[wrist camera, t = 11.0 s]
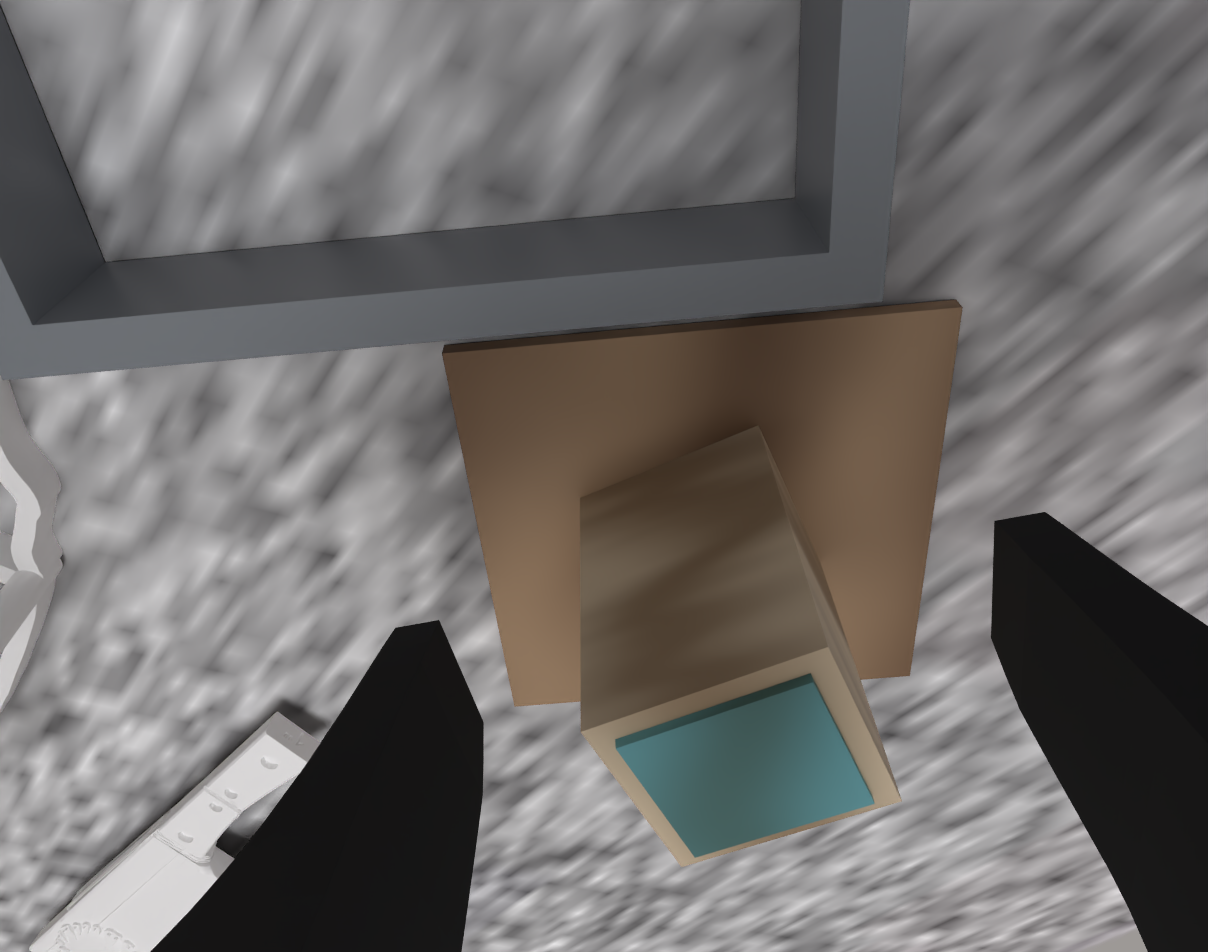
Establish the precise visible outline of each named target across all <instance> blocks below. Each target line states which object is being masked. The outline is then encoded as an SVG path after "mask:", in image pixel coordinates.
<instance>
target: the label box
mask: <svg viewBox="0 0 1208 952" xmlns="http://www.w3.org/2000/svg"><path fill="white" fill-rule="evenodd" d="M580 658H581V733H582V734H583V736H584V737H585V738H586V740H587V741H588V742H589V744H590V745H591V746H592V748H593V749H594V750H595V752H596V753H597V754H598V756H599V757H600V758H601V760H602V761H603V762H604V764H605V765H606V766H607V768H608V769H609V770H610V772H611V773H612V774H613V776H614V777H615V778H616V780H617V781H618V782H619V784H620V785H621V786H622V788H623V789H624V790H625V792H626V793H627V795H628V796H629V797H630V799H631V800H632V801H633V803H634V804H635V805H636V807H637V808H638V809H639V811H640V812H641V813H642V815H643V816H644V817H645V819H646V820H647V821H648V823H649V824H650V825H651V827H652V828H653V829H654V831H655V832H656V833H657V835H658V836H659V837H660V839H661V840H662V841H663V843H664V844H665V845H666V847H667V848H668V849H669V851H670V852H671V853H672V855H673V856H674V857H675V859H676V860H677V861H678V863H679V864H680V865H681V867H683V866H687V865H690V864H693V863H697V862H700V861H703V860H707V859H710V858H713V857H717V856H720V855H723V854H727V853H730V852H733V851H737V850H740V849H743V848H747V847H750V846H754V845H757V844H760V843H764V842H767V841H770V840H774V839H777V838H780V837H784V836H787V835H790V834H794V833H797V832H800V831H804V830H807V829H810V828H814V827H817V826H820V825H824V824H827V823H830V822H834V821H837V820H841V819H844V818H847V817H851V816H854V815H857V814H861V813H864V812H867V811H871V810H874V809H877V808H881V807H884V806H887V805H891V804H894V803H897V802H901V801H902V800H901V797H900V794H899V791H898V788H897V785H896V782H895V780H894V777H893V774H892V771H891V768H890V765H889V762H888V759H887V756H886V753H885V750H884V747H883V744H882V742H881V739H880V736H879V733H878V730H877V727H876V724H875V721H874V718H873V715H872V712H871V709H870V706H869V703H868V701H867V698H866V695H865V692H864V689H863V686H862V683H861V680H860V677H859V674H858V671H857V668H856V665H855V663H854V660H853V657H852V654H851V651H850V648H849V645H848V642H847V639H846V636H845V633H844V630H843V627H842V624H841V622H840V619H839V616H838V613H837V610H836V607H835V604H834V601H833V598H832V595H831V592H830V589H829V586H828V584H827V581H826V578H825V575H824V572H823V569H822V566H821V563H820V561H819V559H818V556H817V554H816V552H815V550H814V548H813V545H812V543H811V541H810V539H809V536H808V534H807V532H806V530H805V528H804V525H803V523H802V521H801V519H800V517H799V514H798V512H797V510H796V508H795V505H794V503H793V501H792V499H791V497H790V494H789V492H788V490H787V488H786V486H785V483H784V481H783V479H782V477H781V474H780V472H779V470H778V468H777V466H776V463H775V461H774V459H773V457H772V455H771V452H770V450H769V448H768V446H767V443H766V441H765V439H764V437H763V435H762V432H761V430H760V428H759V426H755V427H753V428H750V429H748V430H746V431H743V432H741V433H738V434H736V435H733V436H731V437H728V438H726V439H723V440H721V441H719V442H716V443H714V444H711V445H709V446H706V447H704V448H701V449H699V450H697V451H694V452H692V453H689V454H687V455H684V456H682V457H679V458H677V459H674V460H672V461H670V462H667V463H665V464H662V465H660V466H657V467H655V468H652V469H650V470H648V471H645V472H643V473H640V474H638V475H635V476H633V477H630V478H628V479H625V480H623V481H621V482H618V483H616V484H613V485H611V486H608V487H606V488H603V489H601V490H599V491H596V492H594V493H591V494H589V495H586V496H584V497H581V498H580Z"/></svg>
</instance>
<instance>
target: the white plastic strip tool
mask: <svg viewBox="0 0 1208 952" xmlns="http://www.w3.org/2000/svg"><path fill="white" fill-rule="evenodd" d="M320 743H321V742H320V741H318V740H317V739H315V738H314V737H312V736H311V735H310V734H308V733H307V732H305V731H304V730H303V729H301V728H300V727H298V726H297V725H296V724H294V723H293V722H291V721H290V720H289V719H287V718H286V717H284V716H283V715H282V714H280V713H279V712H276V713H275V714H274V715H272V716H271V717H270V718H269V719H268V720H267V721H266V722H265V723H264V724H263V725H262V726H261V727H260V728H259V729H257V730H256V731H255V732H254V733H253V734H252V735H251V736H250V737H249V738H248V739H247V740H246V741H245V742H243V743H242V744H241V745H240V746H239V747H238V748H237V749H236V750H235V751H234V752H233V753H232V754H231V755H229V756H228V757H227V758H226V759H225V760H224V761H223V762H222V763H221V764H220V765H219V766H218V767H217V768H215V769H214V770H213V771H212V772H211V773H210V774H209V775H208V776H207V777H206V778H205V779H204V780H202V781H201V782H200V783H199V784H198V785H197V786H196V787H195V788H194V789H193V790H191V791H190V792H189V793H188V794H187V795H186V796H185V797H184V798H183V799H182V800H181V801H179V802H178V803H177V804H176V805H175V806H174V807H173V808H171V809H170V810H171V811H170V810H169V811H170V812H169V811H168V812H169V813H168V812H167V813H168V814H167V813H166V814H164V815H163V816H162V817H161V818H160V819H159V820H158V821H156V822H155V823H154V824H153V825H154V826H153V825H152V826H153V827H152V826H151V827H152V828H151V827H150V828H151V829H150V828H148V829H147V830H146V831H145V832H146V833H145V832H144V833H145V834H144V833H143V834H144V835H143V834H142V835H143V836H142V835H141V836H142V837H141V836H139V837H138V838H137V839H139V838H140V837H141V838H140V839H139V840H138V841H136V840H137V839H136V840H135V841H136V842H135V841H134V842H135V843H134V842H133V843H134V844H133V843H131V844H130V845H129V846H128V847H130V846H131V845H132V844H133V845H132V846H131V847H130V848H128V847H127V848H128V849H127V848H126V849H127V850H126V849H125V850H126V851H125V850H123V851H122V852H121V853H120V854H122V853H123V852H124V851H125V852H124V853H123V854H122V855H120V854H119V855H120V856H119V855H118V856H119V857H118V856H117V857H118V858H117V857H116V858H117V859H116V858H114V859H113V860H112V861H114V860H115V859H116V860H115V861H114V862H113V863H111V862H112V861H111V862H110V863H111V864H110V863H109V864H110V865H109V864H108V865H109V866H110V867H109V866H108V865H106V866H105V867H104V868H103V869H105V868H106V867H107V866H108V867H109V868H108V867H107V868H106V869H105V870H103V869H102V870H103V871H102V870H101V871H102V872H101V871H100V872H101V873H102V874H101V873H100V872H99V873H100V874H101V875H100V874H99V873H97V874H96V875H95V876H94V877H96V876H97V875H98V874H99V875H100V876H99V875H98V876H99V877H98V876H97V877H98V878H97V877H96V878H97V879H96V878H94V877H93V878H94V879H93V878H92V879H93V880H92V879H91V880H92V881H93V882H92V881H91V880H90V881H91V882H92V883H91V882H90V881H89V882H90V883H91V884H90V883H89V882H87V883H86V884H85V885H84V886H85V887H84V886H83V887H84V888H83V887H82V888H83V889H82V888H81V889H82V890H84V889H85V888H86V887H87V886H88V885H89V884H90V885H89V886H88V887H87V888H86V889H85V890H84V891H83V892H82V893H80V892H81V891H82V890H81V889H80V890H81V891H80V890H79V891H80V892H79V891H78V892H79V893H80V894H79V893H78V892H77V893H78V894H77V893H76V894H77V895H78V896H77V895H76V896H77V897H76V896H75V897H76V898H75V897H74V898H75V899H74V898H73V899H74V900H73V899H72V900H73V901H72V902H71V903H70V904H69V905H67V906H66V907H65V908H64V909H63V910H62V911H61V912H60V913H59V914H58V915H57V916H56V917H54V918H53V919H52V920H51V921H50V922H49V923H48V924H47V925H46V926H45V927H44V928H43V929H42V930H41V932H40V933H39V935H38V936H37V937H36V939H35V940H34V942H33V943H32V944H31V946H30V947H29V948H30V951H32V952H150V951H151V950H152V949H153V948H154V947H155V946H156V945H157V944H158V943H159V942H160V941H161V940H162V939H163V938H164V937H165V936H166V935H167V934H168V933H169V932H170V931H171V930H172V929H173V928H174V926H175V925H176V924H177V923H178V922H179V921H180V920H181V919H182V918H183V917H184V916H185V915H186V914H187V913H188V912H189V911H190V910H191V909H192V908H193V906H194V905H195V904H196V903H197V902H198V901H199V900H200V899H201V898H202V896H203V895H204V894H205V893H206V892H207V891H208V889H209V888H210V887H211V886H212V885H213V884H214V882H215V881H216V880H217V879H218V878H219V877H220V876H221V874H222V873H223V872H224V871H225V870H226V869H227V867H228V866H229V865H230V864H231V863H232V862H233V860H234V858H233V857H231V856H230V855H228V854H226V853H225V852H223V851H222V850H220V849H219V848H217V847H216V843H217V840H218V838H219V837H220V836H221V835H222V834H223V832H224V831H225V830H226V829H227V828H228V827H229V826H230V824H231V823H232V822H233V821H234V820H235V819H238V817H239V815H240V814H241V813H242V811H244V810H245V809H247V808H248V807H249V806H251V805H252V804H254V803H255V802H256V801H258V800H259V799H261V798H262V797H264V796H265V795H267V794H268V793H270V792H271V791H273V790H274V789H276V788H278V787H279V786H281V785H282V784H284V783H285V782H287V781H288V780H290V779H292V778H293V777H295V776H297V775H298V774H300V772H301V771H302V769H303V768H304V766H305V765H306V764H307V762H308V761H309V759H310V758H311V756H312V755H313V753H314V752H315V750H316V749H317V747H318V746H319V744H320ZM149 829H150V830H149ZM148 830H149V831H148ZM95 879H96V880H95ZM88 883H89V884H88ZM87 884H88V885H87ZM86 885H87V886H86Z"/></svg>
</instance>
